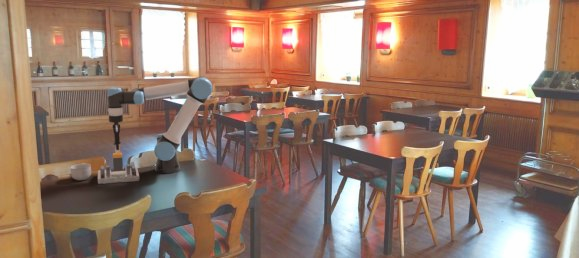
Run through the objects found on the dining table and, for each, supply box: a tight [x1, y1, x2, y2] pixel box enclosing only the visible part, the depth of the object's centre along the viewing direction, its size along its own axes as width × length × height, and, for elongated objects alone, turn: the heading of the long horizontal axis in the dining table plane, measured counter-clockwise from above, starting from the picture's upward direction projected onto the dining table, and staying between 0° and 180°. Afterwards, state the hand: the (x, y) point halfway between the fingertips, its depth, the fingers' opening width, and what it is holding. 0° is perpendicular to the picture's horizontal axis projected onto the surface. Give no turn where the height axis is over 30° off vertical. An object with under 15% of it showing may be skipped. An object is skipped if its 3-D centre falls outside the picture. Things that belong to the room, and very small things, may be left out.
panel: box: [97, 163, 140, 185], centre depth 272 cm, size 22×18×7 cm
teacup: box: [69, 162, 92, 181], centre depth 270 cm, size 14×11×8 cm
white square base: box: [100, 161, 136, 178], centre depth 272 cm, size 19×19×4 cm
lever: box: [110, 152, 126, 172], centre depth 269 cm, size 8×2×12 cm, turn 111°
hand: (117, 155), depth 271 cm, fingers closed
